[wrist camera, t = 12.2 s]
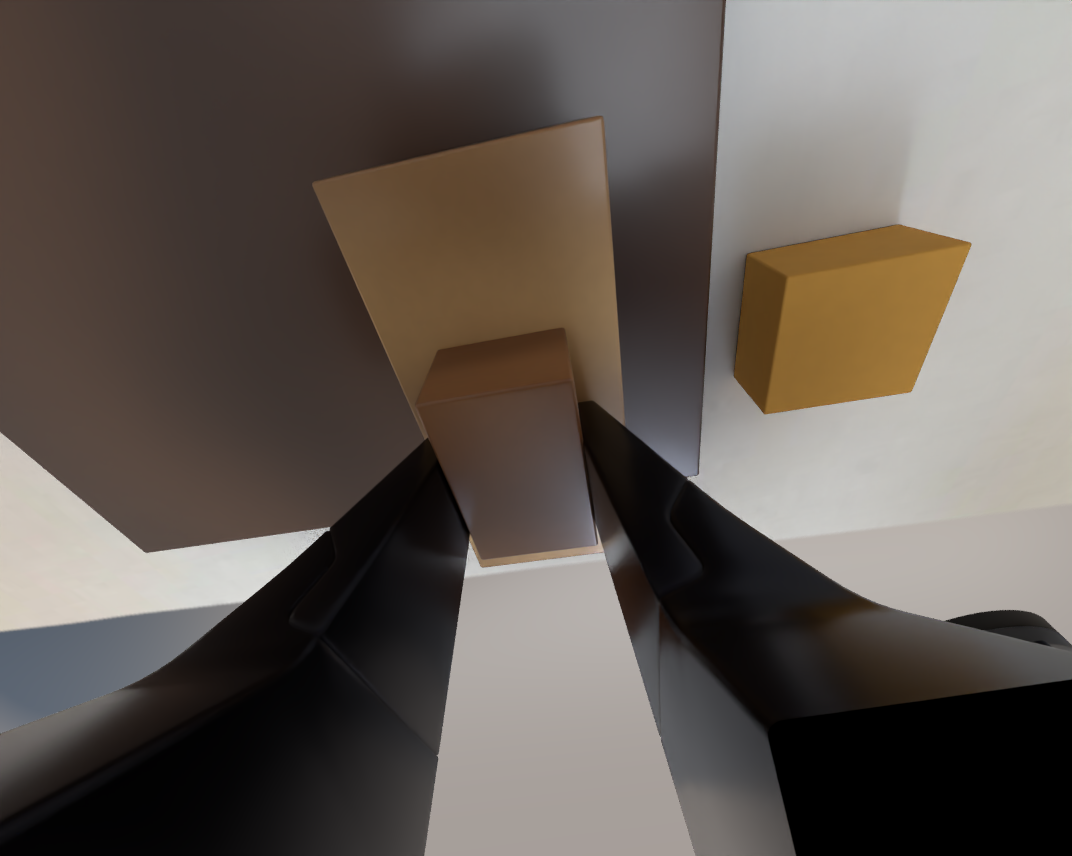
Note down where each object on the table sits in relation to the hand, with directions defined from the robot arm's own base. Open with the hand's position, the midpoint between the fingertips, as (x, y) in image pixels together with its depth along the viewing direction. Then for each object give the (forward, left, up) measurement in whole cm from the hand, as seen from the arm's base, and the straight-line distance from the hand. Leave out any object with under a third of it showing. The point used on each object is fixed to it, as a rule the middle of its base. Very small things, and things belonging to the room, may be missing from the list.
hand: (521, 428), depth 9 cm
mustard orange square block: (-5, -6, -3) cm, 8 cm away
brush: (0, 0, -2) cm, 2 cm away
